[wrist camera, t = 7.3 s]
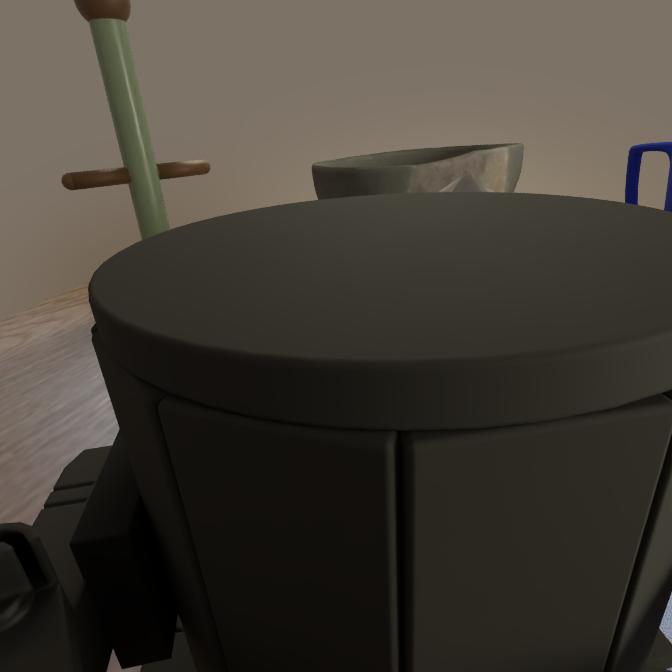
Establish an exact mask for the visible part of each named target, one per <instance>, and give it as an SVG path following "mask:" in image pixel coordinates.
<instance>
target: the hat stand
mask: <svg viewBox="0 0 672 672" xmlns="http://www.w3.org/2000/svg"><path fill="white" fill-rule="evenodd" d="M74 2H75V5H76V7H77V9H78V10H79V12H80V14H81V15H82V16H83V17H84V18H85V19H86V20H87V21H88V22H89V25H90V29H91V33H92V37H93V41H94V45H95V49H96V53H97V58H98V62H99V66H100V70H101V74H102V78H103V82H104V86H105V91H106V94H107V98H108V103H109V107H110V111H111V115H112V119H113V123H114V127H115V131H116V136H117V140H118V144H119V148H120V152H121V156H122V160H123V164H124V167H123V168H113V169H103V170H93V171H83V172H73V173H66V174H65V175H63V177H62V184H63V186H64V187H65V188H67V189H69V190H78V189H86V188H94V187H102V186H111V185H119V184H128V185H129V189H130V193H131V197H132V201H133V205H134V209H135V213H136V218H137V222H138V226H139V230H140V234H141V238H142V240H144V239H147V238H149V237H151V236H154V235H157V234H159V233H162V232H165V231H168V230H170V226H169V221H168V218H167V212H166V207H165V203H164V198H163V194H162V189H161V184H160V180H161V179H169V178H177V177H186V176H193V175H202V174H207V173H208V172H209V171H210V164H209V163H208V162H207V161H206V160H192V161H182V162H173V163H162V164H156V161H155V157H154V152H153V147H152V143H151V138H150V133H149V129H148V124H147V120H146V116H145V111H144V106H143V101H142V96H141V92H140V88H139V83H138V78H137V73H136V69H135V65H134V59H133V55H132V50H131V45H130V41H129V37H128V32H127V27H126V21H127V20H128V18H129V14H130V0H74Z"/></svg>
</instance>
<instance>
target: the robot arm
mask: <svg viewBox="0 0 672 672" xmlns="http://www.w3.org/2000/svg"><path fill="white" fill-rule="evenodd" d="M53 489H54V491H53V492H51V493H50V495H49V497H48V499H47V500H46V502H45V504H44V509H41V511H40V513H39V515H38V517H37V518H36V520H35V522H34V524H33V526H30V525H27V524H24V523H21V522H17V523H3V524H0V672H107V668H108V664H109V660H110V657H111V653H112V649H114V652H115V654H116V656H117V659H118V661H119V663H120V666H121V668H122V669H125V668H130V667H134V666H139V665H144V664H148V663H153V662H158V661H162V660H167V659H171V658H172V651H173V645H174V638H175V631H176V625H177V618H178V611H177V608H176V605H175V601H174V598H173V595H172V592H171V589H170V586H169V582H168V579H167V576H166V573H165V570H164V567H163V564H162V560H161V557H160V554H159V551H158V548H157V545H156V541H155V538H154V535H153V532H152V529H151V526H150V522H149V519H148V516H147V513H146V510H145V507H144V504H143V500H142V497H141V494H140V491H139V488H138V485H137V481H136V478H135V475H134V472H133V469H132V466H131V462H130V459H129V456H128V453H127V450H126V447H125V444H124V440H123V437H122V434H121V431H120V429H119V432H118V434H117V436H116V439H115V441H114V443H113V445H112V446H106V447H99V448H93V449H86V450H84V451H83V452H81V453H80V454H79V455H78V456H77V457H76V458H75V459H74V460H73V461H72V462H71V463H69V464H68V465H67V466H66V467H65V468H64V470H63V472H62V473H61V475H60V477H59V479H58V481H57V482H56V484H55V486H54V488H53Z"/></svg>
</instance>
